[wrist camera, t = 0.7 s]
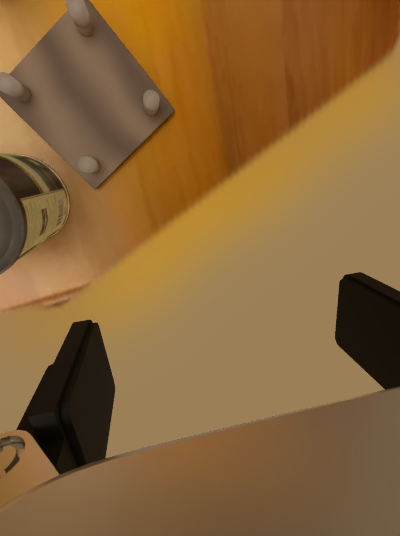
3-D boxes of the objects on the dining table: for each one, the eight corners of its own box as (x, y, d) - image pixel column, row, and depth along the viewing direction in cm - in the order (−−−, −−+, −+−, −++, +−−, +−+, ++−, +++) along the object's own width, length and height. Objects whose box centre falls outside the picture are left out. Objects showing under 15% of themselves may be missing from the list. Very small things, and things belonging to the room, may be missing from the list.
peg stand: (86, 1, 29) (73, -35, 23) (173, 112, 33) (178, 102, 28) (1, 94, 30) (-30, 79, 25) (96, 188, 34) (88, 191, 29)
